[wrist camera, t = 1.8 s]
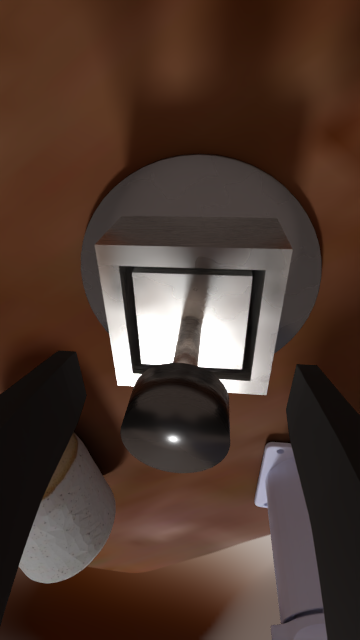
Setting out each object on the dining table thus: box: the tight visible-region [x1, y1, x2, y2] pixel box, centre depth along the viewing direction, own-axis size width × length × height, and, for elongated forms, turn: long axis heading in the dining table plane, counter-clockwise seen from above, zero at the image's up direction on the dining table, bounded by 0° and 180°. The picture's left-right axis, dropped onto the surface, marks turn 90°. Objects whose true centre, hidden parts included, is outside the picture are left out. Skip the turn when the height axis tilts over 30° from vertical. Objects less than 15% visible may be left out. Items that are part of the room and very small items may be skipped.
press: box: [81, 154, 321, 395], centre depth 15 cm, size 12×12×4 cm
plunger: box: [121, 266, 253, 473], centre depth 11 cm, size 5×5×6 cm
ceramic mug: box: [19, 432, 115, 583], centre depth 24 cm, size 11×8×8 cm
